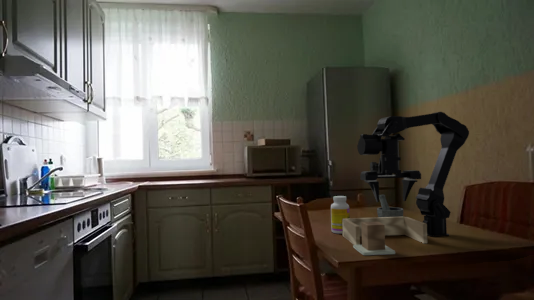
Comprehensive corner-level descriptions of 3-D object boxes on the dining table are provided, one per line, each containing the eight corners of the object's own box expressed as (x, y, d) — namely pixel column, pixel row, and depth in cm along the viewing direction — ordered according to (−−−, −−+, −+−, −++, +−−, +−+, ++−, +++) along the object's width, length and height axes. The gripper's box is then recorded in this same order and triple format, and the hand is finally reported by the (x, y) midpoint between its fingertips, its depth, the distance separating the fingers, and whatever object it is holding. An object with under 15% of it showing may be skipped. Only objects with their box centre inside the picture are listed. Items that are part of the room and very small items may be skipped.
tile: (382, 246, 111) (382, 243, 111) (395, 254, 102) (395, 251, 102) (353, 247, 111) (353, 244, 111) (363, 255, 102) (363, 252, 102)
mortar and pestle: (409, 228, 138) (408, 195, 138) (388, 230, 135) (387, 197, 135) (390, 223, 149) (389, 193, 149) (370, 225, 146) (369, 194, 146)
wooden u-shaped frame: (406, 233, 128) (405, 216, 128) (427, 243, 114) (426, 223, 114) (342, 236, 126) (342, 218, 127) (356, 246, 112) (355, 226, 112)
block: (378, 245, 109) (377, 221, 109) (385, 249, 104) (384, 224, 104) (362, 246, 109) (361, 222, 109) (367, 250, 104) (367, 225, 104)
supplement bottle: (350, 234, 129) (349, 197, 130) (331, 234, 131) (330, 197, 131) (350, 230, 136) (348, 195, 136) (331, 230, 137) (330, 195, 138)
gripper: (405, 154, 132) (407, 198, 131) (354, 155, 130) (355, 199, 130) (421, 153, 121) (422, 201, 120) (365, 155, 119) (366, 203, 119)
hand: (391, 201), depth 123 cm, fingers open, 9 cm apart
